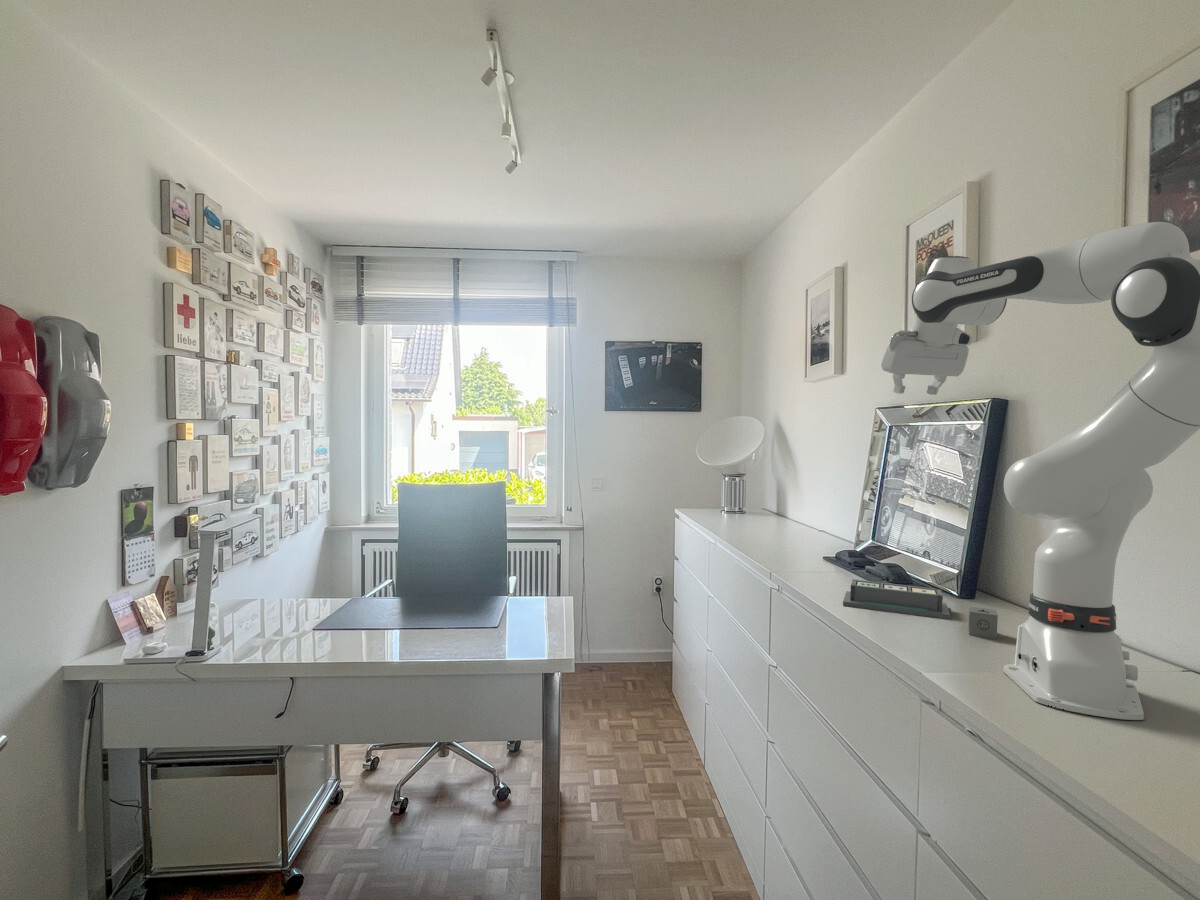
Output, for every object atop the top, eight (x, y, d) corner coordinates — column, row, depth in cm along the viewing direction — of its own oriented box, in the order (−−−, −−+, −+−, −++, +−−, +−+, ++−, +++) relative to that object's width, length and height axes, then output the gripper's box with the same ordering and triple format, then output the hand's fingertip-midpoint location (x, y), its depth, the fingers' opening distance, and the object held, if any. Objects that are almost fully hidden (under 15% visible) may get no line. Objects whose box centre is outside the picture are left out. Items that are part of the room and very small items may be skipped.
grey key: (906, 599, 156) (907, 590, 156) (883, 596, 158) (884, 588, 158) (906, 594, 161) (906, 586, 161) (884, 591, 163) (884, 584, 163)
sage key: (878, 595, 159) (878, 587, 159) (856, 593, 161) (856, 585, 161) (879, 591, 163) (879, 583, 163) (857, 588, 165) (857, 581, 165)
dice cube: (969, 635, 138) (970, 611, 138) (968, 629, 142) (969, 606, 142) (996, 639, 136) (997, 615, 136) (995, 633, 140) (996, 609, 140)
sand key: (935, 602, 154) (936, 594, 154) (912, 599, 156) (912, 591, 156) (934, 597, 158) (934, 589, 158) (911, 595, 160) (912, 587, 160)
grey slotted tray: (949, 619, 150) (950, 598, 149) (842, 605, 159) (843, 586, 159) (946, 607, 160) (946, 588, 160) (846, 594, 170) (846, 576, 170)
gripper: (904, 332, 137) (887, 396, 142) (979, 338, 144) (960, 398, 148) (884, 327, 143) (868, 388, 147) (956, 332, 149) (939, 391, 154)
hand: (915, 393), depth 148 cm, fingers open, 8 cm apart
